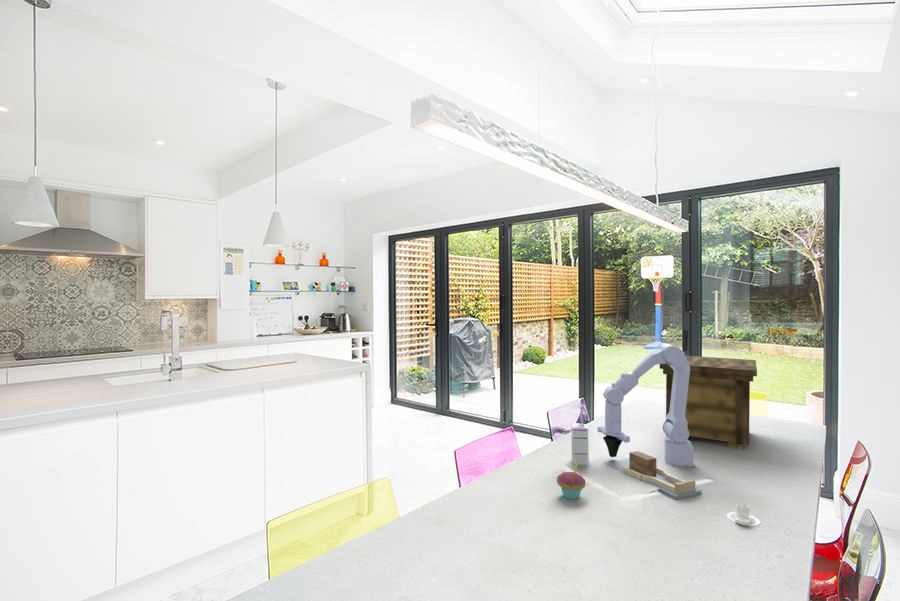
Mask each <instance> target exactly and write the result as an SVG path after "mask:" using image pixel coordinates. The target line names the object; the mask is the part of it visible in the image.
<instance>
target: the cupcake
mask: <svg viewBox="0 0 900 601" xmlns="http://www.w3.org/2000/svg"><path fill="white" fill-rule="evenodd" d="M578 466H579V465H578V459H577V460H576V464H575V466H574V471H570V472H569V471H568V472H567V471H564V472H562V473H559V475H558V476H557V478H556V483H557V484H558V486H559V487H560V489H561V491H562V496H563V497H564V498H567V499H569V500H576V499H580V495H581V493H582V489H584V488H585V487H586V479H585V478H584V477H583V475H581V474H579V473H578V471H577V470H578Z"/></svg>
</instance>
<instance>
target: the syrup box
mask: <svg viewBox="0 0 900 601" xmlns="http://www.w3.org/2000/svg"><path fill="white" fill-rule="evenodd" d="M577 459H578V465H577V466H586V467H587V466H589V464H590V462H589V427H588V424H587V423H580V422H577V423H575V422H574V423H571V464H572V465H575V464H576V460H577Z"/></svg>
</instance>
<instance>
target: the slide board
mask: <svg viewBox="0 0 900 601" xmlns="http://www.w3.org/2000/svg"><path fill="white" fill-rule="evenodd" d="M604 464H605V465H607V466H609V467H612V468H614V469H615V470H618V471H620V472H622V473H624V474H627V475H629V476H631V477H633V478H635V479H637V480H639V481H641V482H644V483H646V484H648V485H650V486H653V487H655V488H657V489H656V491H657V492H658V493H661V494H663V495H664V496H667V497H669V498H672V499H674V500H675V501H677V500H680V499H685V498H689V497H693V496H697V495H701V494H702V489H699V488H698V487H696V479H687V480H684V479H681V478H679V477H677V476H675V475H672V474H669V473H668V472H667V471H666V470H665V469H663V468H660V467H658V466H656V476H654V477H653V476H648V475H643V474H641V473H638V472H636V471H634V470H632V469H630V468H629V459H628V458H622V459H617V460H611V461H606V462H605V461H604Z"/></svg>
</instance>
